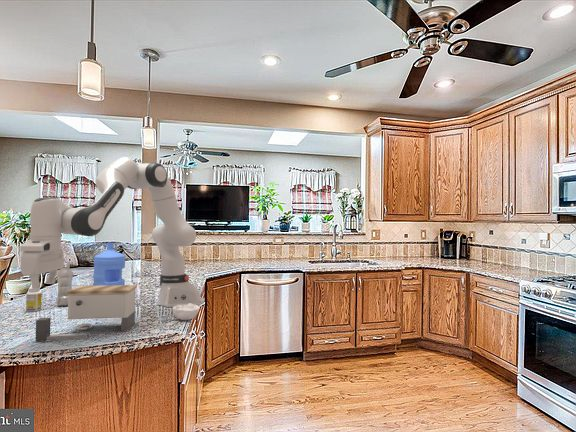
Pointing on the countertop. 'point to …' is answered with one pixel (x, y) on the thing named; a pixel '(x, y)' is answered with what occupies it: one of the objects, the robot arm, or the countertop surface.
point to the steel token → (83, 327)
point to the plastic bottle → (64, 284)
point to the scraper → (44, 334)
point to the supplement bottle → (33, 300)
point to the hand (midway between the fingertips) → (43, 285)
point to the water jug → (108, 267)
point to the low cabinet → (103, 303)
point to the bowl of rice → (185, 311)
